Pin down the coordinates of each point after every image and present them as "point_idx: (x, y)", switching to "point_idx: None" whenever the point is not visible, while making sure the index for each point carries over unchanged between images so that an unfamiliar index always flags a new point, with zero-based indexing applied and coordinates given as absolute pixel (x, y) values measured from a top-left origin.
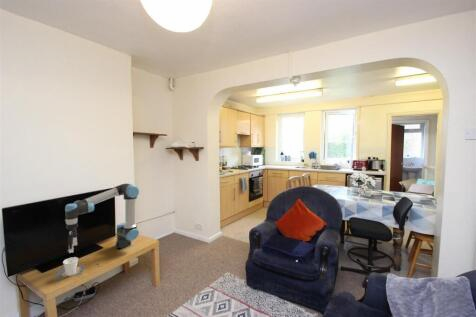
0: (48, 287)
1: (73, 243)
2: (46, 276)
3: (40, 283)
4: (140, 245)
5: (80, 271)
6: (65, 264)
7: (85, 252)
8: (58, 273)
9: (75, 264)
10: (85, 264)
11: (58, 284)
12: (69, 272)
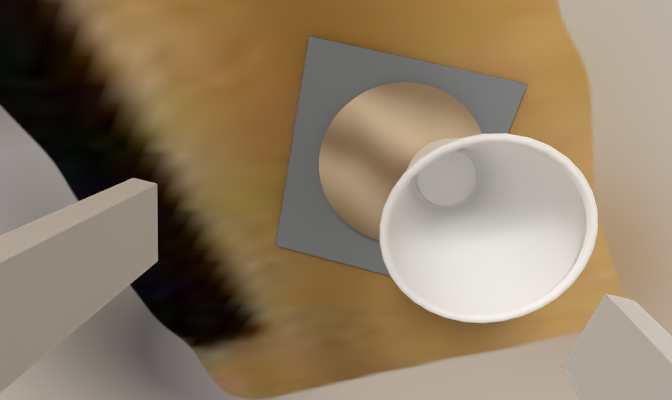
0: (536, 317)
1: (116, 283)
2: (339, 317)
3: (425, 350)
4: None
5: (446, 93)
6: (536, 292)
7: (11, 27)
8: (352, 255)
9: (540, 166)
10: (309, 37)
11: None
12: (501, 202)
